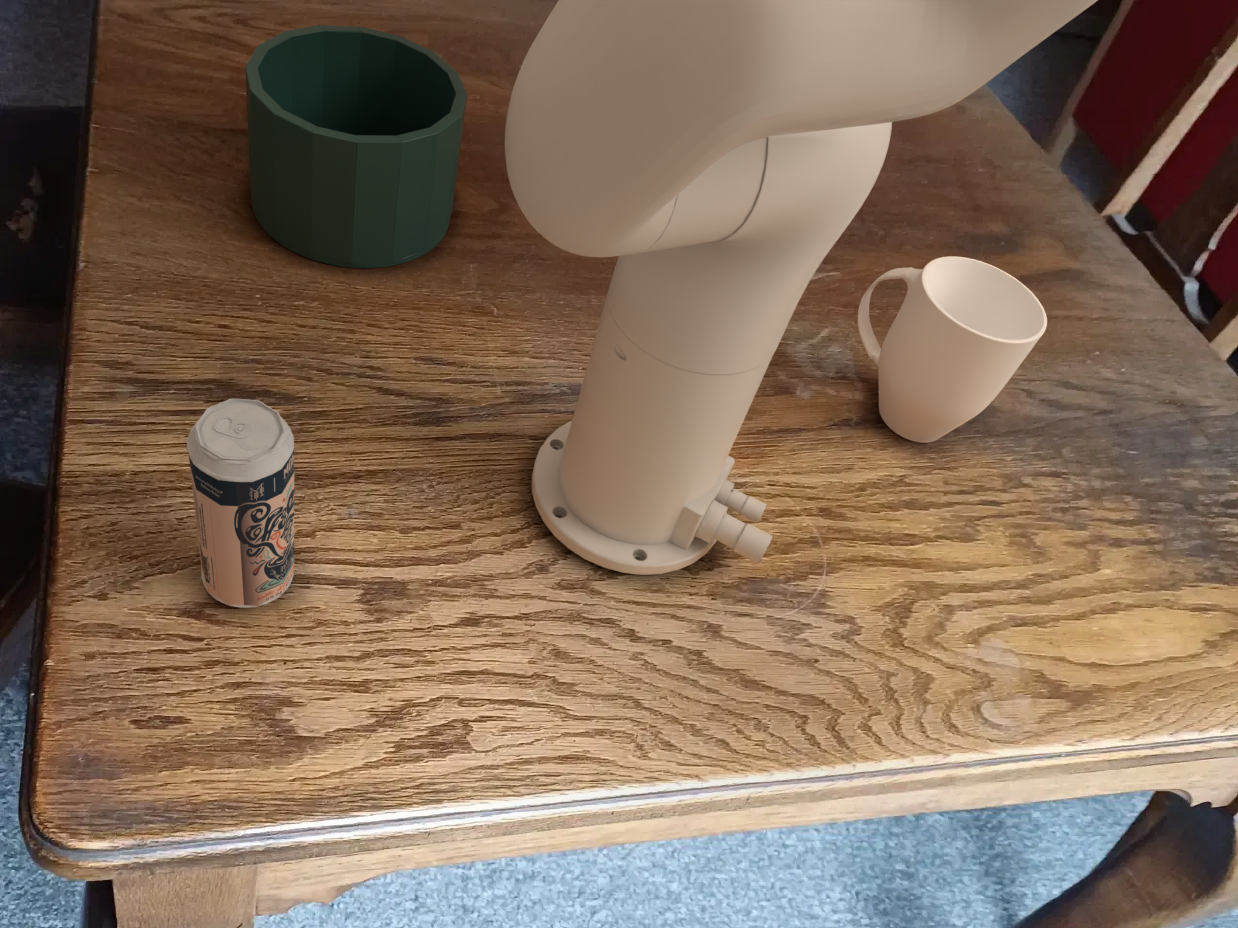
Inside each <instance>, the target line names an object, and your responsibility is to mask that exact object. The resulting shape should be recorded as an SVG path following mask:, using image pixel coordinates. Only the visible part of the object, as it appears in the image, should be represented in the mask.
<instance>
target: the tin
mask: <svg viewBox="0 0 1238 928" xmlns="http://www.w3.org/2000/svg"><path fill="white" fill-rule="evenodd" d="M244 68H245V71H244V72H245V73H244V74H245V94H246V95H245V96H246V97H245V99H246V100H245V101H246V122H247V123H246V124H247V126H246V127H247V150H248V151H247V152H248V153H247V154H248V177H249V182H248V183H249V193H250V197H251V207H252V211H253V214H254V216H255V219H256V220H257V222H258V224H259V225H260V226H261V228H262V229H263V230H264V232H266V234H268V235H269V236H270V237H271V239H273V240H274V241H276V242H277V243H278V244H279V245H281V246H282V247H284V248H286V249H288V250H289V251H291V252H293V253H295V254H297V255H299V256H302V257H304V258H307V259H309V260H311V261H315V262H318V263H323V264H327V265H331V266H335V267H336V266H337V267H343V268H351V269H379V268H386V267H387V268H388V267H392V266H393V267H394V266H397V265H402V264H405V263H409V262H411V261H413V260H416V259H418V258H420V257H422V256H424V255H426V254H428V253H429V252H430V251H432V250H433V249H434V248H436V247H437V245H439V244H440V242H441V241H443V238H444V237H445V236H446V234H447V232H448V229H449V226H450V222H451V221H450V220H451V217H452V213H453V210H454V209H453V208H454V200H455V193H456V185H457V179H458V172H459V171H458V170H459V162H460V154H461V147H462V139H463V131H464V123H465V117H466V109H467V101H468V94H467V91H466V89H465V86H464V83H463V81H462V79H461V77H460V75H459V72H458V71H457V70H456V69H454V67H452V66H451V65H450V64H448V63H447V62H446V60H444V59H443V58H442V57H440V56H439V55H438V54H437V53H436V52H435V51H433V50H432V49H430V48H428V47H425V46H423V45H420V44H418V43H416V42H415V41H412V40H410V39H408V38H406V37H404V36H401V35H397V34H393V33H389V32H387V31H386V32H385V31H381V30H377V29H373V28H368V27H366V26H352V25H330V24H328V25H325V24H318V25H311V26H306V27H299V28H294V29H289V30H284V31H282V32H280V33H278V34H277V35H275V36H273V37H271V38H269V39H267V40H265V41H264V42H262V43H260V44H259V45H257V46H256V48H255V49H254V51H253V53H252V54H251V56H250V58H249V59H248V61H247V63H246V64H245V67H244Z"/></svg>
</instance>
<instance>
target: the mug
mask: <svg viewBox="0 0 1238 928" xmlns="http://www.w3.org/2000/svg"><path fill="white" fill-rule="evenodd" d="M899 279H902V280H903V281H904V282H905V284H906V286H907V287H906V288H907V291H906V294H905V297H904V300H903V302H902V304H901V306H900V308H899V310H898V311H897V313H896V314H897V315H896V316H895V318H894V320H893V322H892V323H891V326H890V327H889V329H888V332H887V334H886V335H885V338H884V340H883V343H882V345H880V343H879V341H878V340H877V337H876V335H875V333H874V330H873V327H872V323H871V320H870V302H871V296H872V293H873V292H874V289H875V288H876V286H877V285H878V284H879V283H880V282H882V281H886V280H899ZM858 306H859V307H858V309H857V330H858V335H859V338H860V341H861V343H862V346H863V348H864V350H865V353H866V354H867V357H868V358H869V359H870V360H872V361H873V362H874V364H875V365H876V366H877V368H878V369H877V370H878V371H877V374H878V412H879V415H880V417H881V419H882V421H883V422H884V423H885V425H886V426H887V427H888V428H889V429H890V430H891V431H893V432H894V433H895V434H896V435H899V437H902V438H904V439H906V440H909V441H911V442H915V443H923V444H928V443H929V444H930V443H933V442H935V441H938V440H939V439H941V438H942V437H944V436H945V435H947V434H949V433H950V432H952V431H953V430H955V429H957V428H959V427H960V426H962V425H964V424H966V423H967V422H968V421H970V420H972V419H973V418H975V417H977V416H978V415H979V414H981V413H982V412H983V411H984V410H985V409H987V408H988V406H989V405H990V404H991V403H992V402H993V401H994V400H995V399H996V397H998V395H999V394H1000V392H1001V391H1002V390H1003V389H1004V388H1005V386H1006V385H1007V384H1008V382H1009V381H1010V380H1011V378H1013V375H1014V374H1015V373H1016V372H1017V370H1018V369H1019V368H1020V366H1021V365H1022V363H1024V360H1025V359H1026V358H1027V357H1028V355H1029V353H1030V352H1032V350H1033V348H1034V347H1035V346H1036V344H1037V343H1038V341H1039V340H1040V339H1041V338H1042V336H1043V335H1044V333H1045V332H1046V330H1047V326H1048V317H1047V314H1046V310H1045V308H1044V306H1043V304H1042V303H1041V301H1040V300H1039V298H1038V297H1037V296H1036V295H1035V294H1034V293H1033V291H1032V290H1031V289H1030V288H1028V287H1027V286H1026V285H1025V284H1024V283H1022V282H1021V281H1020V280H1018V279H1017V278H1016V277H1014V276H1013V275H1011V274H1010V273H1008V272H1006V271H1004V270H1002V269H1000V268H998V267H997V266H994V265H992V264H990V263H987V262H985V261H982V260H978V259H974V258H971V257H965V256H956V255H955V256H954V255H953V256H952V255H949V256H942V257H941V256H940V257H938V258H934V259H933V260H931V261H929V262H928V263H927V264H926V265H925V266H924V267H923V268H914V267H912V266H910V267H897V268H893V269H889V270H888V271H885V272H884V273H883V274H881V275H880V276H879V277H878V278H876V279H875V280H874V281H873V282H872V283H871V284H870V285H869V287H868V288H867V289H866V291H865V292H864V294H863V295H862V296H861V299H860V302H859V305H858Z"/></svg>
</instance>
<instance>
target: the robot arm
mask: <svg viewBox="0 0 1238 928" xmlns="http://www.w3.org/2000/svg"><path fill="white" fill-rule="evenodd" d="M1098 1H1099V0H558V1H557V2H556V4H555V5H554V7H553V8H552V10H551V11H550V13H549V15H548V17H547V18H546V20H545V22H544V23H543V25H542V26H541V28H540V30H539V31H538V33H537V35H536V37H535V38H534V40H533V41H532V44H531V45H530V46H529V49H528V50H527V53H526V54H525V57H524V59H523V61H522V64H521V66H520V69H519V71H518V73H517V77H516V79H515V81H514V84H513V88H512V90H511V94H510V99H509V102H508V107H507V112H506V119H505V129H504V156H505V165H506V173H507V178H508V182H509V185H510V189H511V191H512V194H513V197H514V198H515V201H516V204H517V205H518V207H519V209H520V210H521V212H522V214H523V216H524V218H525V219H526V220H527V221H528V223H529V224H530V226H531V227H532V228H533V229H534V230H535V231H536V232H537V233H538V234H539V235H540V236H541V237H542V238H543V239H545V240H546V241H548V242H549V243H551V244H552V245H553V246H555V247H557V248H559V249H560V250H563V251H565V252H568V253H570V254H573V255H577V256H580V257H581V256H582V257H587V258H588V257H589V258H611V257H612V258H613V257H617V260H616V263H615V266H614V269H613V272H612V276H611V280H610V282H609V286H608V289H607V293H606V297H605V300H604V304H603V308H602V311H601V314H600V318H599V322H598V325H597V329H596V331H595V332H596V333H595V337H594V339H593V344H592V347H591V351H590V355H589V358H588V361H587V366H586V369H585V372H584V375H583V380H582V383H581V387H580V390H579V394H578V398H577V401H576V405H575V408H574V413H573V416H572V419H571V420H569V421H567V422H566V423H564V424H563V425H560V426H559V427H557V428H556V429H555V430H554V431H553V432H552V433H551V434H550V435H548V436H547V438H546V439H545V441H544V442H543V443H542V445H541V446H540V447H539V450H538V453H537V455H536V457H535V460H534V465H533V468H532V474H531V493H532V498H533V501H534V505H535V508H536V510H537V512H538V514H539V516H540V518H541V521H542V522H543V523H544V524H545V526H546V527H547V529H548V530H549V531H550V532H551V533H552V535H553V536H554V537H555V538H556V539H557V540H558V541H559V542H560V543H561V544H563V545H564V546H565V547H566V548H567V549H568V550H570V551H571V552H573V553H574V554H576V555H578V556H580V557H581V558H582V559H584V560H586V561H588V562H591V563H593V564H595V565H597V566H599V567H601V568H604V569H608V570H612V571H614V572H615V571H616V572H619V573H622V574H629V575H630V574H631V575H639V576H640V575H641V576H645V575H662V574H667V573H672V572H675V571H679V570H681V569H684V568H686V567H688V566H690V565H692V564H695V563H696V562H697V561H699V560H700V559H701V558H703V557H704V556H705V555H707V553H708V552H709V551H710V550H711V549H712V547H713V546H714V545H715V544H716V543H717V541H718V542H719V543H721V544H723V545H725V546H727V547H729V548H731V549H732V552H735V553H736V554H738V555H740V556H742V557H744V558H745V559H747V560H750V561H751V562H754V563H756V564H758V565H759V564H760V563H761V560H762V559H763V557H764V555H765V553H766V551H767V549H768V548H769V546H770V543H771V541H772V539H774V535H772V534H770V533H768V532H766V531H764V530H762V529H760V528H758V527H757V526H755V525H753V524H751V523H749V522H747V523H745V522H744V521H742V520H740V519H738V518H736V517H734V516H732V515H730V514H729V513H728V509H729V510H732V511H734V512H736V513H738V514H739V516H741V517H743V518H745V519H747V520H749V521H751V522H753V523H754V524H758V523H759V521H760V519H761V518H762V515H763V514H764V511H765V510H766V508H767V506H768V504H767V503H765V502H763V501H760V500H759V499H757V498H756V497H754V496H751V495H747V494H745V493H743V492H742V491H739V490H738V489H735V488H734V487H735V485H736V484H735V483H734V482H732V481H731V480H729V479H728V477H729V475H730V473H731V471H732V469H733V466H734V464H735V463H736V459H735V458H733V457H732V456H730V455H729V454H730V452H731V450H732V448H733V445H734V443H735V441H736V439H737V437H738V435H739V431H740V430H741V428H742V425H743V424H744V421H745V419H746V416H747V414H748V413H749V410H750V408H751V406H752V403H753V401H754V399H755V397H756V394H757V392H758V390H759V388H760V385H761V384H762V381H763V379H764V376H765V374H766V372H767V369H768V367H769V365H770V363H771V361H772V359H773V356H774V355H775V353H776V351H777V349H778V347H779V345H780V343H781V340H782V338H783V336H784V334H785V332H786V329H787V327H788V325H789V323H790V321H791V319H792V317H793V315H794V312H795V310H796V308H797V306H798V304H799V302H800V300H801V298H802V296H803V294H804V292H805V291H806V289H807V287H808V285H809V284H810V282H811V280H812V278H813V277H814V275H815V273H816V272H817V270H818V268H819V267H820V265H821V264H822V262H823V261H824V259H825V258H826V257H827V255H828V254H829V253H830V251H831V250H832V248H833V247H834V246H835V244H836V243H837V241H838V240H839V239H840V238H841V236H842V235H843V233H844V232H845V231H846V230H847V228H848V226H849V225H850V224H851V223H852V222H853V220H854V218H855V216H857V214H858V212H860V210H861V208H862V206H863V205H864V203H865V202H866V200H867V198H868V196H869V195H870V194H871V191H872V189H873V187H874V186H875V184H876V182H877V180H878V177H879V175H880V172H881V170H882V168H883V166H884V163H885V160H886V157H887V153H888V150H889V146H890V140H891V135H892V129H893V123H895V122H902V121H907V120H911V119H912V120H913V119H916V118H921V117H925V116H928V115H932V114H935V113H938V112H941V111H943V110H945V109H947V108H950V107H952V106H954V105H955V104H957V103H959V102H960V101H962V100H964V99H965V98H967V97H968V96H970V95H971V94H973V93H975V92H977V90H979V89H980V88H982V87H983V86H984V85H986V84H987V83H988V82H990V81H991V80H992V79H994V78H995V77H996V76H998V75H999V74H1000V73H1002V72H1003V71H1004V70H1005V69H1007V68H1009V67H1010V66H1011V65H1012V64H1013V63H1015V62H1016V61H1017V60H1019V59H1021V57H1023V56H1024V55H1025V54H1027V53H1028V52H1029V51H1031V50H1033V49H1034V48H1035V47H1037V46H1038V45H1039V44H1041V43H1042V42H1043V41H1044V40H1046V39H1048V38H1049V37H1050V36H1052V35H1053V34H1054V33H1055V32H1057V31H1058V30H1060V29H1061V28H1063V27H1064V26H1065V25H1066V24H1068V23H1069V22H1070V21H1073V19H1075V18H1076V17H1077V16H1079V15H1080V14H1081V13H1083V12H1084V11H1086V10H1087V9H1088V8H1090V7H1091V6H1093V5H1094V4H1095V3H1096V2H1098Z"/></svg>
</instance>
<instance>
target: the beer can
mask: <svg viewBox="0 0 1238 928" xmlns="http://www.w3.org/2000/svg"><path fill="white" fill-rule="evenodd" d="M186 450H187V453H188V460H189V468H190V476H191V477H190V478H191V485H192V487H191V488H192V495H193V505H194V515H195V523H196V531H197V532H196V533H197V540H198V541H197V542H198V549H199V559H200V569H201V570H200V572H201V573H200V574H201V575H200V576H201V577H200V578H201V580H202V584H203V586H204V588H205V590H206V592H207V593H208V594H209V595H210V596H211V597H213V599H214V600H216V601H218V602H220V603H221V604H225V605H226V606H228V607H234V608H241V609H249V608H256V607H261V606H265V605H267V604H270V603H271V602H273V601H275V600H277V599H279V598H280V597H281V596H282V595H283V594H284V593H285V592H286V591H287V590H288V588H289V587H290V585H291V583H292V582H293V578H294V575H295V436H294V435H293V431H292V429H291V427H290V425H289V424H288V423H287V422H286V420H285V419H284V418H283V417H282V416H281V415H280V412H279V411H277V410H275V409H274V408H272V407H270V406H269V405H267V404H265V403H264V402H262V401H260V400H258V399H245V398H229V399H226V400H224V401H221V402H219V403H216V404H213V405H210V406H208V407H206V409H205V411H204V412H203V414H201V416H200V417H199V418H198V420H197V421H196V422H195V423H194V424H193V426H192V427H191V429H190V432H189V433H188V435H187V441H186Z"/></svg>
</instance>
